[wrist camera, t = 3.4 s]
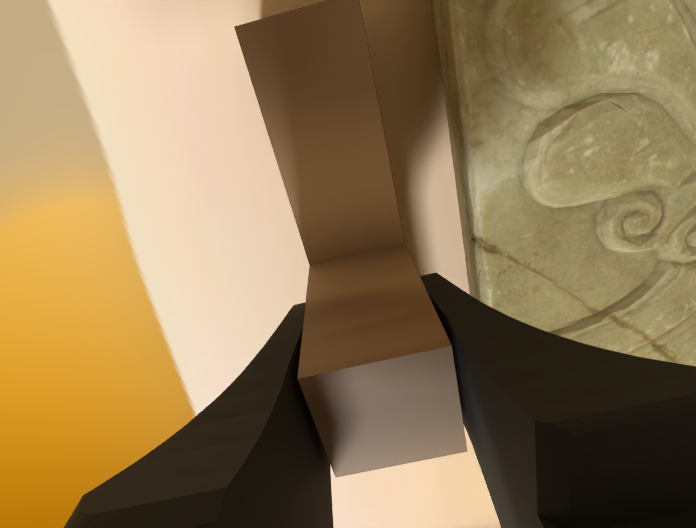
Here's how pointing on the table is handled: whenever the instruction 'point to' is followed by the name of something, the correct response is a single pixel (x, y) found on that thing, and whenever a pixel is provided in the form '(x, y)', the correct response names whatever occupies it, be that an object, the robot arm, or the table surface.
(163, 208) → the table surface
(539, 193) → the decorative tile
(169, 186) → the table surface
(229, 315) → the table surface
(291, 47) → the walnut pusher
